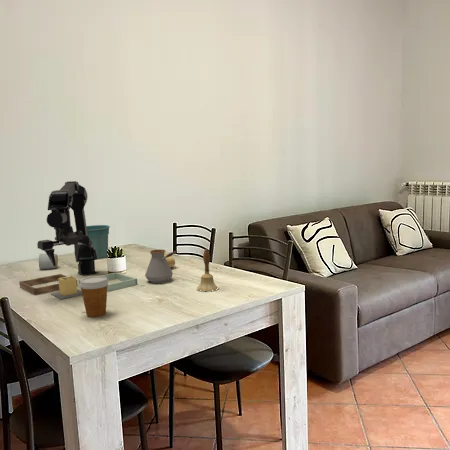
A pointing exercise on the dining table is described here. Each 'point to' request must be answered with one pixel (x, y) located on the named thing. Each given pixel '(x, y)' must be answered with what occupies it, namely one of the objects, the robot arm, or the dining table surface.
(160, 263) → the coffee pot
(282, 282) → the dining table surface
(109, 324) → the dining table surface
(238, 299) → the dining table surface
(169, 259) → the onion
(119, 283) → the sage tray
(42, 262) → the grey cylinder
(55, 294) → the rubber mat
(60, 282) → the letter block
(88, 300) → the disposable coffee cup
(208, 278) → the hand bell
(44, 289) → the walnut tray
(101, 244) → the flower pot
